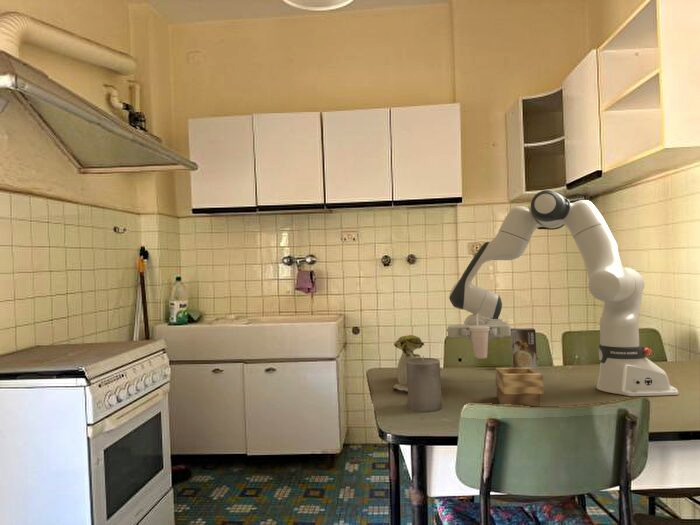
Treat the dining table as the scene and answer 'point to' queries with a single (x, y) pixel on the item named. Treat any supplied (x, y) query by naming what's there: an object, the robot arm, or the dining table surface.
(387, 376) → the dining table surface
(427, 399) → the pillar candle
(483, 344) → the smoothie
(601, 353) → the robot arm
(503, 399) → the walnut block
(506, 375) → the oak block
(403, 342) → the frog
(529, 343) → the coffee box
